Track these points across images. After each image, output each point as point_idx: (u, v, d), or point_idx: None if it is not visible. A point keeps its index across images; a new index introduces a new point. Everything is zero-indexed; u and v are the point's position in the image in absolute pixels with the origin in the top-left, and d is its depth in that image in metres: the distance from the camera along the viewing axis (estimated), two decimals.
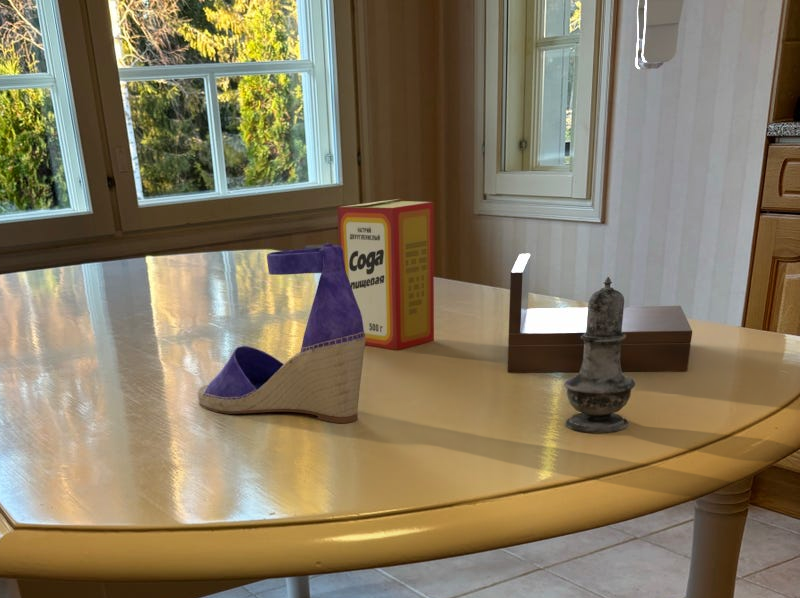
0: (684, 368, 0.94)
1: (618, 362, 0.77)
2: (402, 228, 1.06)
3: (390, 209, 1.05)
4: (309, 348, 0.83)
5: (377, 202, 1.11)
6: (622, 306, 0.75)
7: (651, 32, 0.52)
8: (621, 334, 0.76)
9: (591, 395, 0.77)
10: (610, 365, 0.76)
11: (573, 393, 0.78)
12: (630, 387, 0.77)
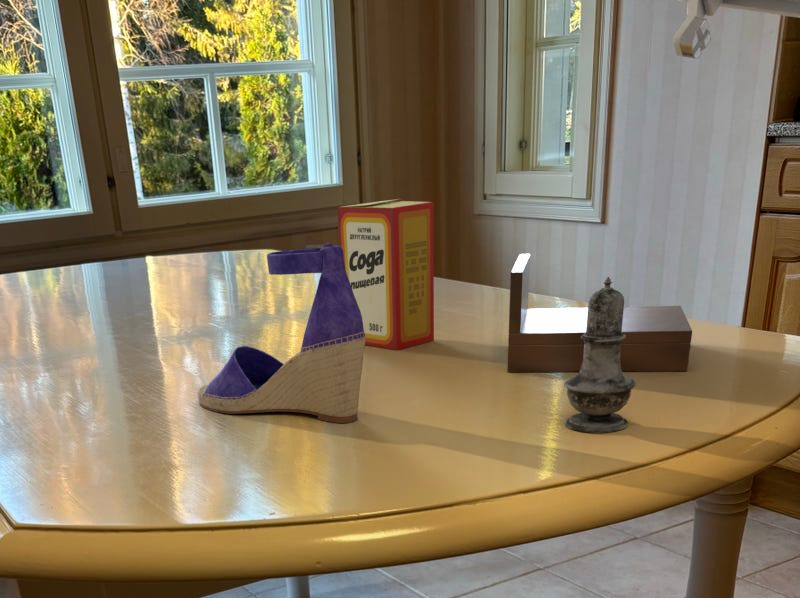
0: (684, 368, 0.94)
1: (618, 362, 0.77)
2: (402, 228, 1.06)
3: (390, 209, 1.05)
4: (309, 348, 0.83)
5: (377, 202, 1.11)
6: (622, 306, 0.75)
7: None
8: (621, 334, 0.76)
9: (591, 395, 0.77)
10: (610, 365, 0.76)
11: (573, 393, 0.78)
12: (630, 387, 0.77)
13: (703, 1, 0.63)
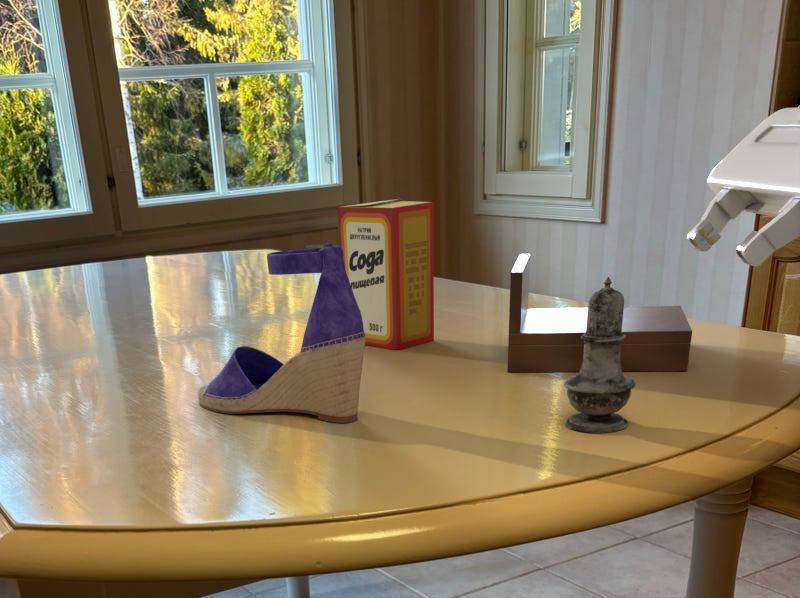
0: (684, 368, 0.94)
1: (618, 362, 0.77)
2: (402, 228, 1.06)
3: (390, 209, 1.05)
4: (309, 348, 0.83)
5: (377, 202, 1.11)
6: (622, 306, 0.75)
7: None
8: (621, 334, 0.76)
9: (591, 395, 0.77)
10: (610, 365, 0.76)
11: (573, 393, 0.78)
12: (630, 387, 0.77)
13: (723, 208, 0.77)
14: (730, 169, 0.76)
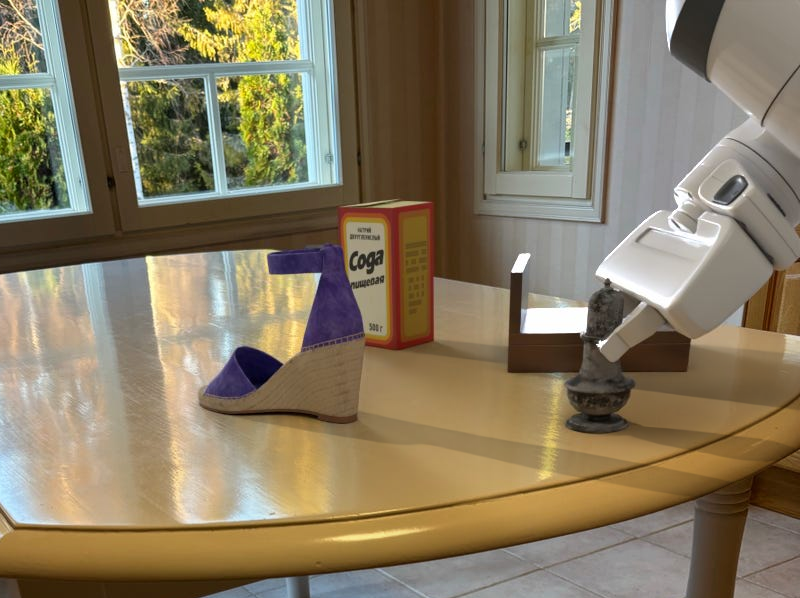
0: (684, 368, 0.94)
1: (618, 362, 0.77)
2: (402, 228, 1.06)
3: (390, 209, 1.05)
4: (309, 348, 0.83)
5: (377, 202, 1.11)
6: (622, 306, 0.75)
7: None
8: None
9: (591, 395, 0.77)
10: (609, 365, 0.76)
11: (573, 393, 0.78)
12: (630, 387, 0.77)
13: None
14: (612, 266, 0.80)
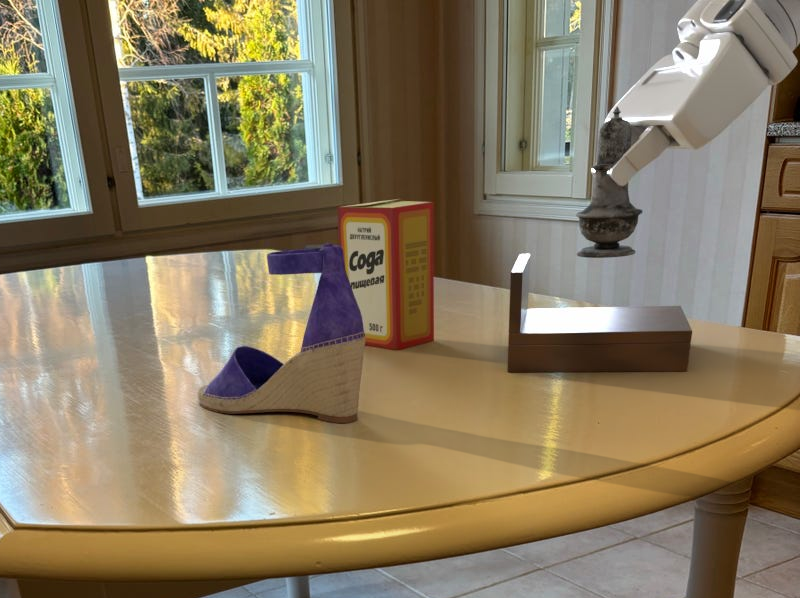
0: (684, 368, 0.94)
1: (626, 190, 0.83)
2: (402, 228, 1.06)
3: (390, 209, 1.05)
4: (309, 348, 0.83)
5: (377, 202, 1.11)
6: (630, 134, 0.81)
7: None
8: None
9: (601, 220, 0.83)
10: (618, 192, 0.83)
11: (585, 220, 0.85)
12: (637, 212, 0.83)
13: None
14: (620, 109, 0.87)
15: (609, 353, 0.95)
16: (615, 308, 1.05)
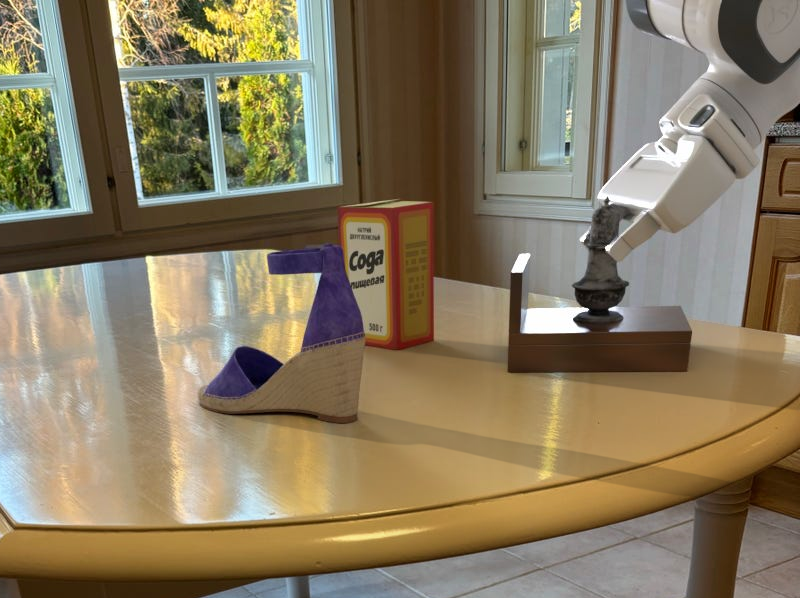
0: (684, 368, 0.94)
1: (615, 266, 0.97)
2: (402, 228, 1.06)
3: (390, 209, 1.05)
4: (309, 348, 0.83)
5: (377, 202, 1.11)
6: (618, 219, 0.95)
7: None
8: None
9: (594, 292, 0.97)
10: (608, 268, 0.97)
11: (579, 291, 0.98)
12: (624, 285, 0.97)
13: None
14: (611, 188, 1.00)
15: (609, 353, 0.95)
16: (615, 308, 1.05)
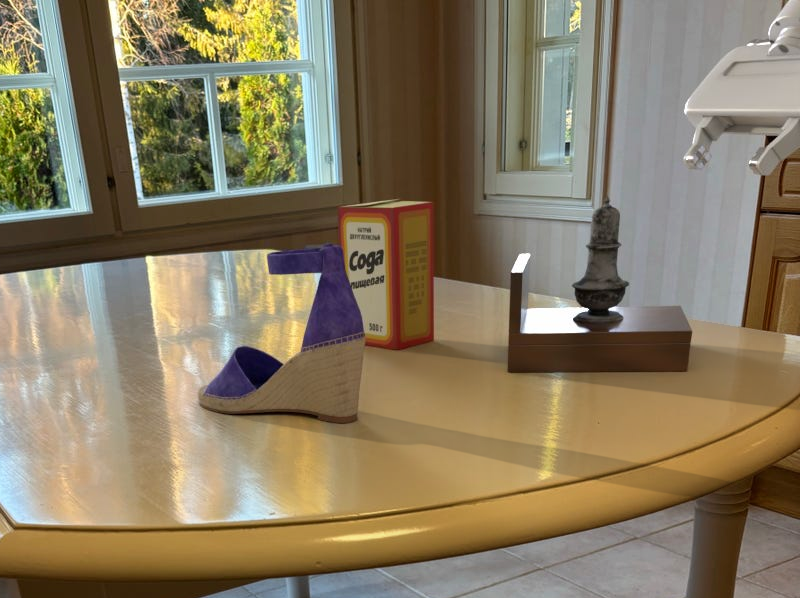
0: (684, 368, 0.94)
1: (615, 266, 0.97)
2: (402, 228, 1.06)
3: (390, 209, 1.05)
4: (309, 348, 0.83)
5: (377, 202, 1.11)
6: (618, 219, 0.95)
7: None
8: (617, 243, 0.96)
9: (594, 292, 0.97)
10: (608, 268, 0.97)
11: (579, 291, 0.98)
12: (624, 285, 0.97)
13: (707, 133, 0.94)
14: (708, 99, 0.93)
15: (609, 353, 0.95)
16: (615, 308, 1.05)
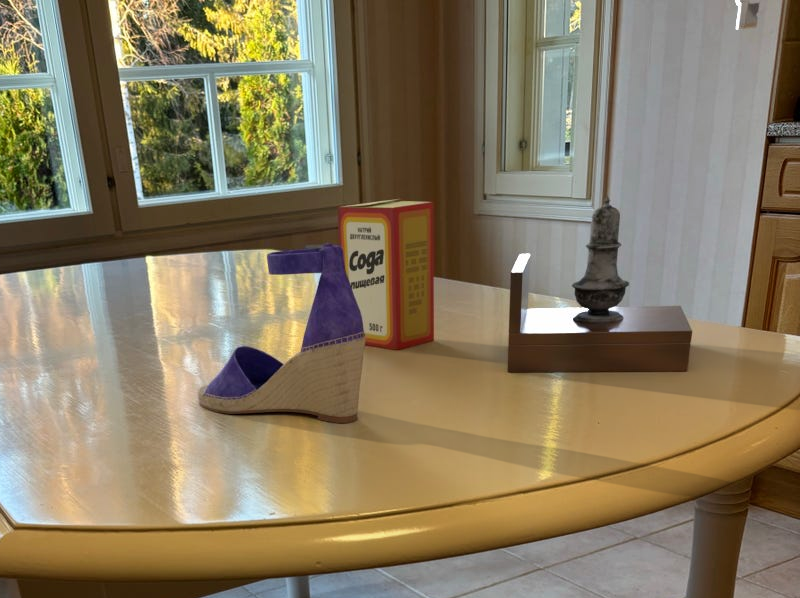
0: (684, 368, 0.94)
1: (615, 266, 0.97)
2: (402, 228, 1.06)
3: (390, 209, 1.05)
4: (309, 348, 0.83)
5: (377, 202, 1.11)
6: (618, 219, 0.95)
7: (738, 9, 0.80)
8: (617, 243, 0.96)
9: (594, 292, 0.97)
10: (608, 268, 0.97)
11: (579, 291, 0.98)
12: (624, 285, 0.97)
13: None
14: None
15: (609, 353, 0.95)
16: (615, 308, 1.05)
